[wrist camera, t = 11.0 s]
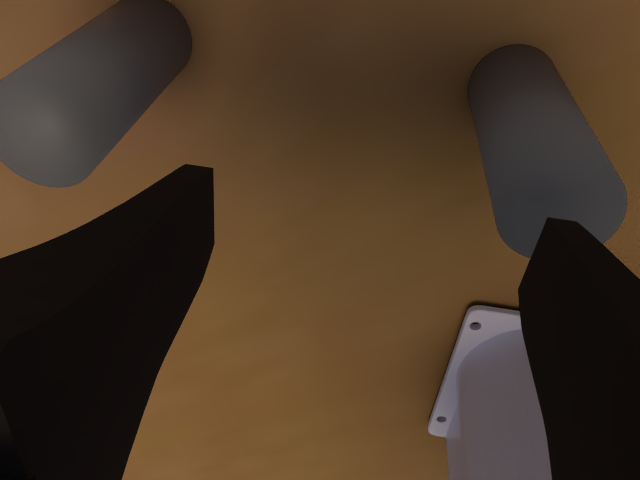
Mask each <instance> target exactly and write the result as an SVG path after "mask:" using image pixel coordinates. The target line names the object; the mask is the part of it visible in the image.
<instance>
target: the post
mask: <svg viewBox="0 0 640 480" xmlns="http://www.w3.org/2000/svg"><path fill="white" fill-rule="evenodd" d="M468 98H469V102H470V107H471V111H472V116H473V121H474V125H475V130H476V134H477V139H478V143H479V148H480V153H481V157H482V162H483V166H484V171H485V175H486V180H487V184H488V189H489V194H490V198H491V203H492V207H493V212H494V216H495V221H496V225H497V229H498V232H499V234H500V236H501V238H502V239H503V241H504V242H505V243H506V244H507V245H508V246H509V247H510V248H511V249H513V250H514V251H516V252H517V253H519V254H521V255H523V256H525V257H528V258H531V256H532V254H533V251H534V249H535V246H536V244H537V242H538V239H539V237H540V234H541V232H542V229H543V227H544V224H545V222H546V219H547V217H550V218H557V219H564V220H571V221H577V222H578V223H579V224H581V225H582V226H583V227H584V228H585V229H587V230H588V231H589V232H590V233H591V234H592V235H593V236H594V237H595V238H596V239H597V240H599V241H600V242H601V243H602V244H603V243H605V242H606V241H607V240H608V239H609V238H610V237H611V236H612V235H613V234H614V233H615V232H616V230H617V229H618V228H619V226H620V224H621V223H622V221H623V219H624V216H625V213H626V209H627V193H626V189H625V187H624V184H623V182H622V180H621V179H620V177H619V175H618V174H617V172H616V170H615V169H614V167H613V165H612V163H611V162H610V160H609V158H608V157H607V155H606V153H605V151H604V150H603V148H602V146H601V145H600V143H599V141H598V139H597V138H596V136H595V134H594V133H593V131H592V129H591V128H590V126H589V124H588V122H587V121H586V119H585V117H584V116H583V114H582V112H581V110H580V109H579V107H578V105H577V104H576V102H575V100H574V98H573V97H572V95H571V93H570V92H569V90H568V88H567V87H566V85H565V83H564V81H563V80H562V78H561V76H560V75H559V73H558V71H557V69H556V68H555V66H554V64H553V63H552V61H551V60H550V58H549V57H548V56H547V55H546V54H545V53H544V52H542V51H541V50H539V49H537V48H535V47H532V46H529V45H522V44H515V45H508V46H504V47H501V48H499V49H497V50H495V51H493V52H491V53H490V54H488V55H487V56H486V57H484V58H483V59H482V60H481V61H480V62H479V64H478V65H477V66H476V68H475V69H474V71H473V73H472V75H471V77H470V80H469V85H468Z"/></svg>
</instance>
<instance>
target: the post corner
mask: <svg viewBox="0 0 640 480" xmlns="http://www.w3.org/2000/svg"><path fill="white" fill-rule="evenodd" d="M191 49H192V40H191V34H190V30H189V27H188V25H187V23H186V21H185V19H184V18H183V16H182V15H181V13H180V12H179V11H178V10H177V9H176V8H175V7H174V6H173V5H172V4H170V3H169V2H168V1H166V0H121V1H120V2H118V3H117V4H115V5H114V6H112V7H111V8H109V9H108V10H106V11H105V12H103V13H101V14H100V15H98V16H97V17H95V18H94V19H92V20H91V21H89V22H88V23H86V24H85V25H83V26H82V27H80V28H79V29H77V30H76V31H74V32H73V33H71V34H70V35H68V36H66V37H65V38H63V39H62V40H60V41H59V42H57V43H56V44H54V45H53V46H51V47H50V48H48V49H47V50H45V51H44V52H42V53H41V54H39V55H38V56H36V57H35V58H33V59H31V60H30V61H28V62H27V63H25V64H24V65H22V66H21V67H19V68H18V69H16V70H15V71H13V72H12V73H10V74H9V75H7V76H6V77H4V78H3V79H1V80H0V160H1V161H2V162H3V163H4V164H5V165H6V166H7V167H8V168H9V169H11V170H12V171H13V172H15V173H16V174H18V175H19V176H21V177H23V178H25V179H27V180H29V181H31V182H34V183H36V184H39V185H43V186H48V187H56V188H58V187H69V186H73V185H76V184H78V183H80V182H82V181H83V180H85V179H86V178H87V177H88V176H89V175H90V174H91V173H92V171H93V170H94V169H95V168H96V167H97V166H98V165H99V163H100V162H101V161H102V160H103V159H104V158H105V157H106V155H107V154H108V153H109V152H110V151H111V150H112V149H113V147H114V146H115V145H116V144H117V143H118V142H119V141H120V140H121V138H122V137H123V136H124V135H125V134H126V133H127V132H128V130H129V129H130V128H131V127H132V126H133V125H134V124H135V122H136V121H137V120H138V119H139V118H140V117H141V116H142V114H143V113H144V112H145V111H146V110H147V109H148V108H149V106H150V105H151V104H152V103H153V102H154V101H155V100H156V98H157V97H158V96H159V95H160V94H161V93H162V92H163V90H164V89H165V88H166V87H167V86H168V85H169V84H170V82H171V81H172V80H173V79H174V78H175V77H176V76H177V74H178V73H179V72H180V71H181V70H182V69H183V68H184V66H185V65H186V64H187V62H188V60H189V58H190V54H191Z"/></svg>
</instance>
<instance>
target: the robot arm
mask: <svg viewBox="0 0 640 480" xmlns="http://www.w3.org/2000/svg"><path fill="white" fill-rule="evenodd" d="M213 246H214V186H213V168H209V167H202V166H195V165H188V164H185V165H183V166H181V167H180V168H178V169H176V170H175V171H173V172H172V173H170V174H169V175H167V176H165V177H164V178H162V179H161V180H159V181H158V182H156V183H155V184H153V185H152V186H150V187H148V188H147V189H145V190H144V191H142V192H140V193H139V194H137V195H136V196H134V197H132V198H131V199H129V200H128V201H126V202H124V203H123V204H121V205H119V206H117V207H115V208H114V209H112V210H110V211H108V212H106V213H105V214H103V215H101V216H99V217H97V218H96V219H94V220H92V221H90V222H88V223H86V224H84V225H82V226H80V227H78V228H76V229H74V230H72V231H70V232H68V233H66V234H63V235H61V236H59V237H56V238H54V239H52V240H49V241H47V242H45V243H42V244H40V245H37V246H35V247H32V248H29V249H26V250H23V251H20V252H18V253H15V254H12V255H9V256H6V257H3V258H1V259H0V480H122V477H123V473H124V470H125V467H126V464H127V461H128V457H129V454H130V451H131V448H132V446H133V443H134V440H135V437H136V434H137V431H138V428H139V425H140V422H141V419H142V416H143V413H144V410H145V407H146V405H147V402H148V399H149V396H150V394H151V391H152V388H153V385H154V382H155V380H156V377H157V374H158V372H159V370H160V367H161V365H162V363H163V361H164V358H165V356H166V354H167V352H168V350H169V348H170V346H171V344H172V342H173V340H174V338H175V336H176V334H177V332H178V330H179V328H180V326H181V324H182V322H183V320H184V318H185V316H186V314H187V312H188V310H189V307H190V305H191V303H192V301H193V299H194V297H195V295H196V293H197V291H198V289H199V287H200V285H201V282H202V280H203V277H204V274H205V271H206V268H207V266H208V262H209V259H210V256H211V253H212V250H213ZM518 295H519V310H520V311H516V310H509V309H503V308H496V307H489V306H483V305H475V306H472V307H470V308H469V309H468V310H467V312H466V315H465V318H464V321H463V323H462V326H461V329H460V332H459V335H458V338H457V341H456V344H455V347H454V350H453V352H452V355H451V358H450V361H449V364H448V367H447V370H446V373H445V376H444V379H443V382H442V384H441V387H440V390H439V393H438V396H437V399H436V402H435V405H434V408H433V411H432V413H431V416H430V419H429V422H428V431H429V433H430V434H432V435H435V436H440V437H446V444H447V460H448V475H449V480H640V279H639V278H638V277H637V276H636V275H634V274H633V273H632V272H631V271H630V270H629V269H628V268H627V267H626V266H625V265H624V264H623V263H622V262H621V261H620V260H619V259H617V258H616V257H615V256H614V255H613V254H612V253H611V252H610V251H609V250H608V249H607V248H606V247H605V246H604V245H603V244H602V243H601V242H600V241H599V240H597V239H596V238H595V237H594V236H593V235H592V234H591V233H590V232H589V231H588V230H587V229H585V228H584V227H583V226H582V225H581V224H579V223H578V222H577V221H571V220H564V219H557V218H550V217H547V219H546V222H545V224H544V227H543V229H542V232H541V234H540V237H539V239H538V242H537V244H536V246H535V249H534V251H533V254H532V256H531V259H530V261H529V264H528V266H527V269H526V271H525V274H524V276H523V279H522V281H521V283H520V286H519V288H518ZM473 322H478V324H471V323H473Z"/></svg>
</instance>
